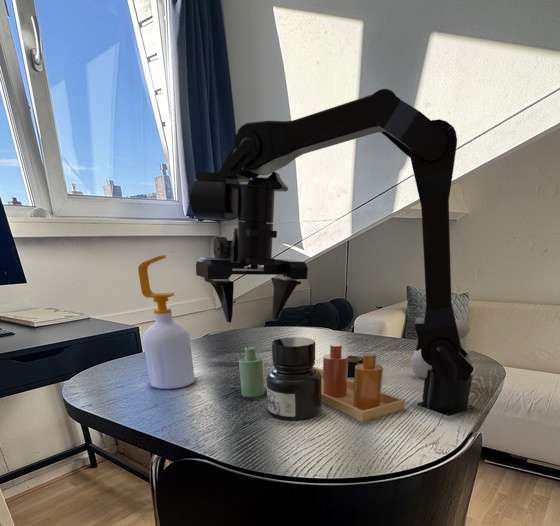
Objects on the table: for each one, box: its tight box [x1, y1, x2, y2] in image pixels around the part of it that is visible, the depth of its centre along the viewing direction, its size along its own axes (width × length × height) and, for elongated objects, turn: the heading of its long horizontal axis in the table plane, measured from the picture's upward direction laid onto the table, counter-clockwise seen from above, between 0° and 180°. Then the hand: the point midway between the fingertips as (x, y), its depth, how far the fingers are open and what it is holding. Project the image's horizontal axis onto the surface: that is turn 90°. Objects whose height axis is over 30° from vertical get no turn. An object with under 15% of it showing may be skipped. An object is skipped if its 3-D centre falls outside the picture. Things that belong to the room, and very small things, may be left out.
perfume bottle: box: [410, 319, 470, 380], centre depth 81 cm, size 8×10×12 cm
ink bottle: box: [266, 336, 322, 422], centre depth 66 cm, size 10×9×12 cm
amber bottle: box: [353, 352, 384, 411], centre depth 67 cm, size 4×4×9 cm
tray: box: [313, 366, 406, 423], centre depth 75 cm, size 25×9×2 cm, turn 32°
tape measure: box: [347, 355, 363, 377], centre depth 87 cm, size 7×7×4 cm
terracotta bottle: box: [322, 343, 349, 398], centre depth 73 cm, size 4×4×9 cm
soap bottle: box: [137, 254, 195, 390], centre depth 81 cm, size 9×9×25 cm
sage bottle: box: [238, 346, 265, 398], centre depth 76 cm, size 4×4×9 cm
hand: (252, 320), depth 73 cm, fingers open, 9 cm apart
